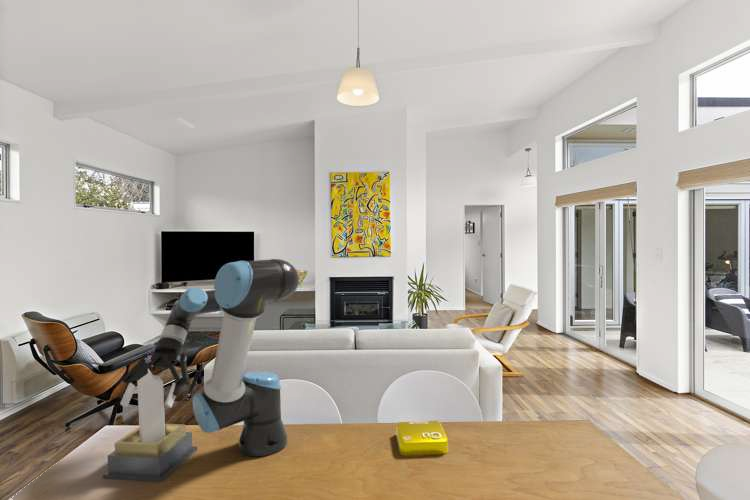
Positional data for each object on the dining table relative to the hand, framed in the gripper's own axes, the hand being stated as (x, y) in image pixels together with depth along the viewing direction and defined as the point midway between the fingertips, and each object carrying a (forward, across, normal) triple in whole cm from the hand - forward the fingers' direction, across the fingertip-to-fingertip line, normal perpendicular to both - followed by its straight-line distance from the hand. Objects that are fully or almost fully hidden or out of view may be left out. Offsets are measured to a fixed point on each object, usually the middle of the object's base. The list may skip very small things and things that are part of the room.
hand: (145, 405), depth 125 cm
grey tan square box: (+11, 0, -14) cm, 18 cm away
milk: (+7, 0, -10) cm, 13 cm away
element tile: (+2, -81, -24) cm, 84 cm away
